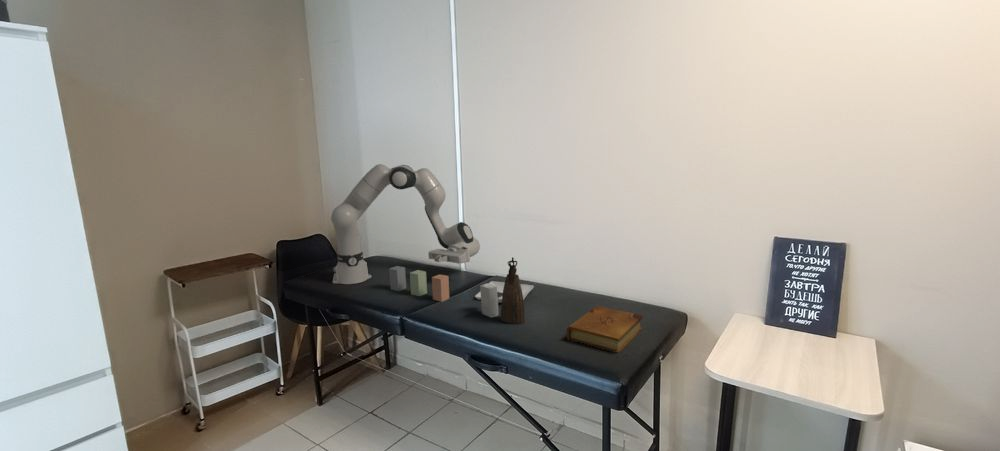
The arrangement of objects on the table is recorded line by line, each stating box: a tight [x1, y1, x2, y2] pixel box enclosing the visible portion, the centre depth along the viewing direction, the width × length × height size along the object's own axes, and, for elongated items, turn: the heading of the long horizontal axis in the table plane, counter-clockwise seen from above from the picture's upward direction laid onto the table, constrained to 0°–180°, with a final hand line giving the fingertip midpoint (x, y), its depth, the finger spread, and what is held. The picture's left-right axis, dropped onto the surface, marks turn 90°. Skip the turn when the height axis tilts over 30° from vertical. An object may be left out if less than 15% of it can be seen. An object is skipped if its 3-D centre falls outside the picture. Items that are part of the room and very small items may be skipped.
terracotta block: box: [431, 274, 450, 303], centre depth 200 cm, size 5×5×10 cm
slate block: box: [388, 265, 407, 292], centre depth 214 cm, size 5×5×10 cm
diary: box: [566, 305, 644, 354], centre depth 165 cm, size 23×19×6 cm
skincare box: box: [479, 282, 499, 318], centre depth 184 cm, size 6×4×12 cm
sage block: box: [409, 269, 428, 297], centre depth 207 cm, size 5×5×10 cm
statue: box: [500, 257, 526, 325], centre depth 176 cm, size 9×8×25 cm
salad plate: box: [474, 280, 535, 304], centre depth 205 cm, size 21×21×3 cm
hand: (436, 260), depth 215 cm, fingers closed
